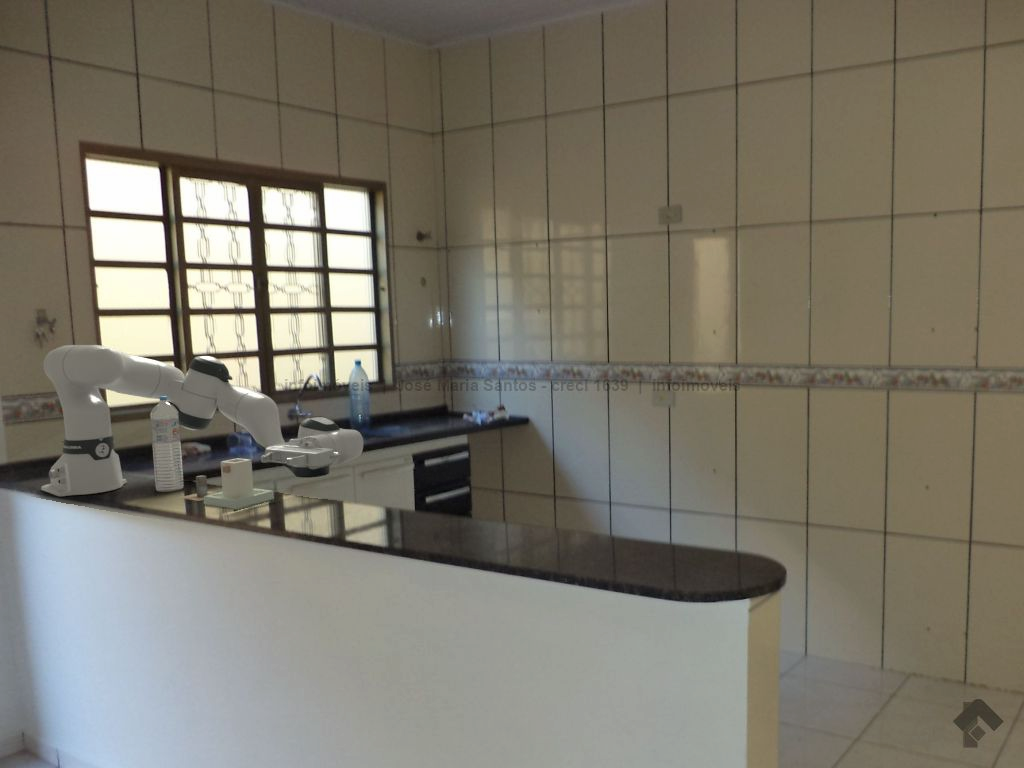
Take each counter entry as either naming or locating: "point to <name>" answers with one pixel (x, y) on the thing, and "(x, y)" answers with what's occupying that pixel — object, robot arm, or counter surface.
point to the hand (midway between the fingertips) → (275, 460)
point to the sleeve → (237, 478)
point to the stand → (199, 489)
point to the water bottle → (166, 447)
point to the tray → (258, 497)
